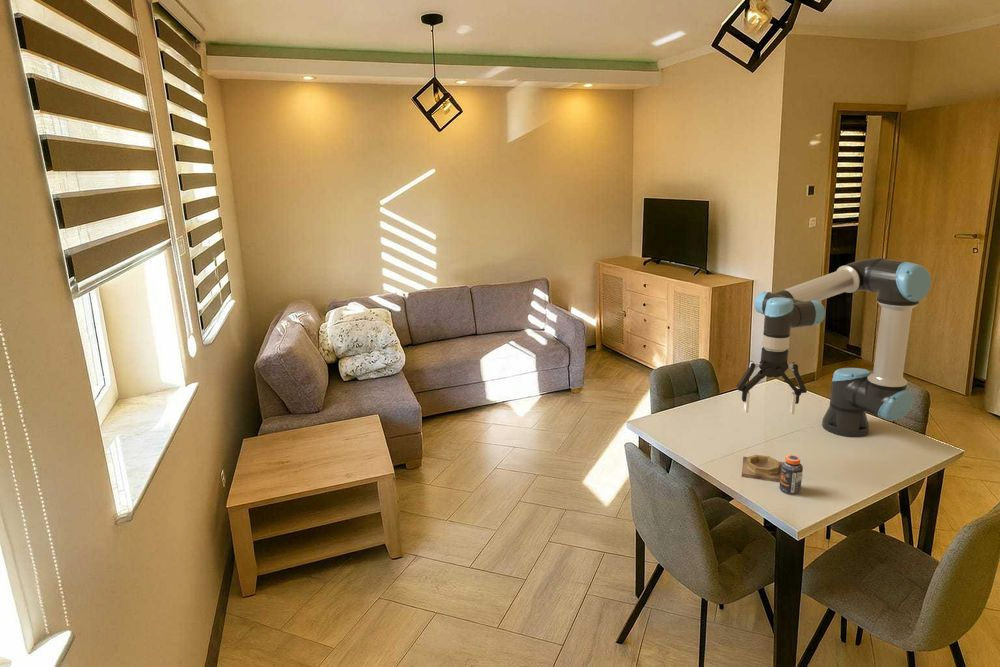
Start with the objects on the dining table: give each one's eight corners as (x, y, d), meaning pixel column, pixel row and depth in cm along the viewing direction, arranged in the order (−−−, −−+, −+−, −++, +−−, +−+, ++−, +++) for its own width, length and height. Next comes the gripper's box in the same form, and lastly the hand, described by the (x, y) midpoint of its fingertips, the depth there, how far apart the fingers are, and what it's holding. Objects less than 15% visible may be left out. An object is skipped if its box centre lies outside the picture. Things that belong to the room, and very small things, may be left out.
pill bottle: (775, 486, 190) (778, 453, 187) (793, 484, 190) (797, 452, 187) (785, 496, 184) (789, 462, 181) (804, 494, 185) (808, 461, 181)
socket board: (781, 465, 202) (782, 456, 201) (782, 482, 192) (783, 473, 191) (743, 459, 207) (743, 451, 206) (741, 476, 196) (742, 467, 195)
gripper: (814, 345, 188) (807, 408, 194) (730, 343, 192) (725, 405, 198) (822, 352, 181) (814, 418, 187) (734, 350, 185) (729, 414, 191)
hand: (768, 411), depth 193 cm, fingers open, 13 cm apart
